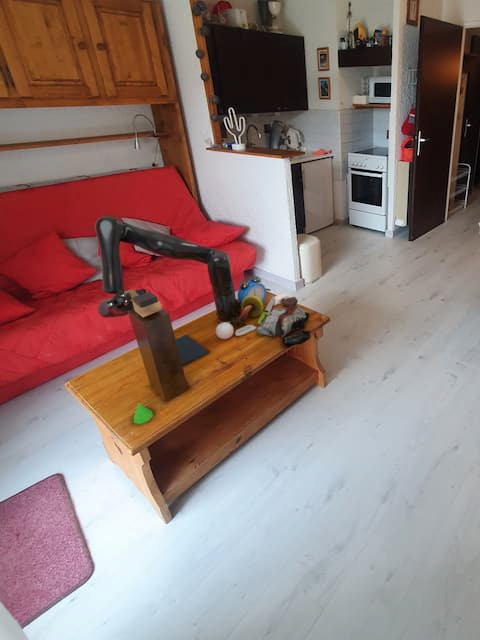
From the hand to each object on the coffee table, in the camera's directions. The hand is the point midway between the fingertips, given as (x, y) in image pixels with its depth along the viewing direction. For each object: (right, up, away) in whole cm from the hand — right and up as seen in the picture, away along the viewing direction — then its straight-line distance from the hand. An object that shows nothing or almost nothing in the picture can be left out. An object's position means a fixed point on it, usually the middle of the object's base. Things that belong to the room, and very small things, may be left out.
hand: (134, 294), depth 127 cm
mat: (+2, -25, +30) cm, 39 cm away
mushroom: (+22, -10, +41) cm, 48 cm away
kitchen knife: (+32, -10, +57) cm, 66 cm away
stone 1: (+40, -15, +47) cm, 64 cm away
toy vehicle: (+36, -5, +67) cm, 76 cm away
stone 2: (+42, -8, +66) cm, 78 cm away
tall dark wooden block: (+6, -34, +11) cm, 37 cm away
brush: (+3, -3, -1) cm, 4 cm away
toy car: (+48, -19, +34) cm, 62 cm away
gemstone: (+4, -41, -1) cm, 41 cm away
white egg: (+19, -17, +34) cm, 43 cm away
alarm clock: (+22, -8, +64) cm, 68 cm away
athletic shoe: (+41, -9, +41) cm, 59 cm away
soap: (+24, -16, +43) cm, 52 cm away
